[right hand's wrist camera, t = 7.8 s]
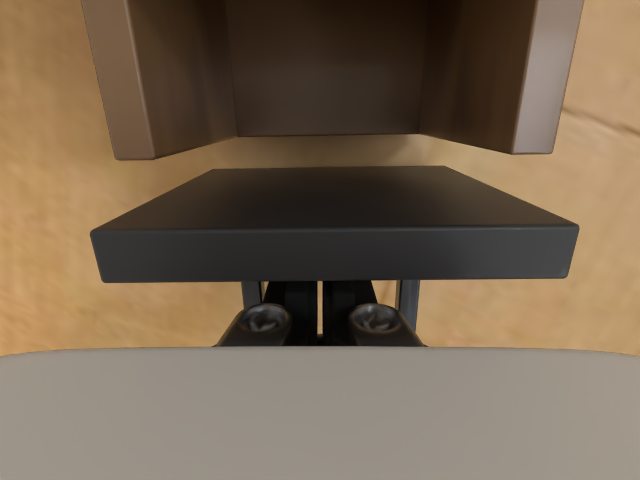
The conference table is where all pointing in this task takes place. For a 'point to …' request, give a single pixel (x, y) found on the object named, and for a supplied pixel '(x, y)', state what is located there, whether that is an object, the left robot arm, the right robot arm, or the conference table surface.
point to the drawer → (332, 119)
